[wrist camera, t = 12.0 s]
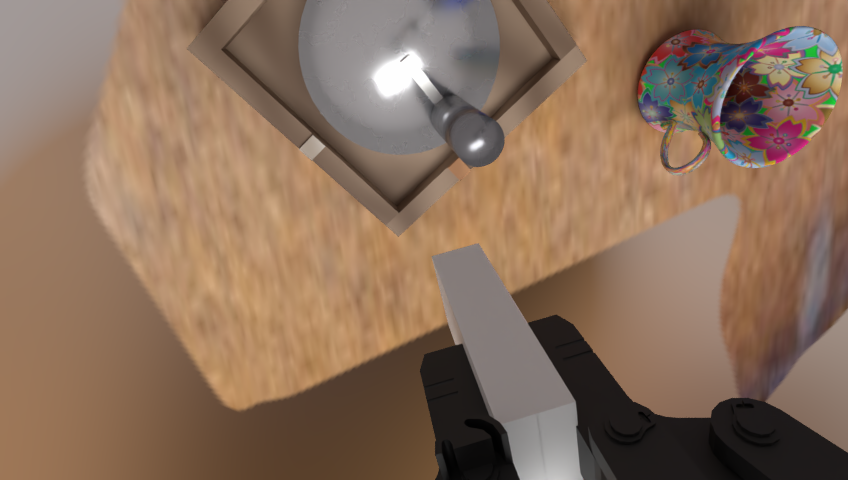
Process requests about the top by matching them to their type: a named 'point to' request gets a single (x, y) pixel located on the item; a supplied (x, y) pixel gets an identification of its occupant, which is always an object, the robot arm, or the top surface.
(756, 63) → the mug
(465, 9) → the dial
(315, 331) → the top surface
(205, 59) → the dial panel
